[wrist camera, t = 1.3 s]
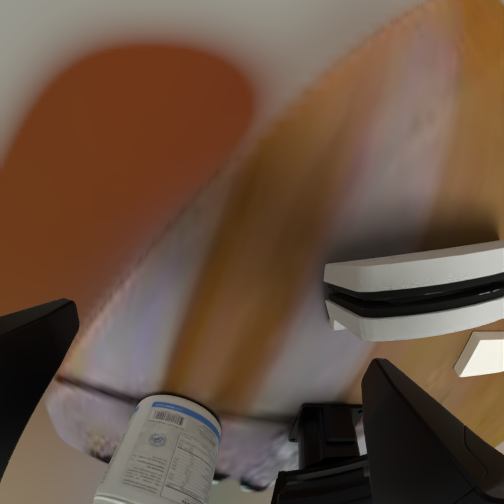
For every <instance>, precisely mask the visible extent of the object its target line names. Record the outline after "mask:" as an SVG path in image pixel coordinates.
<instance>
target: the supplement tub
mask: <svg viewBox="0 0 504 504" xmlns="http://www.w3.org/2000/svg"><path fill="white" fill-rule="evenodd" d="M220 437H221V428H220V425H219V423H218V421H217V420H216V419H215V417H214V416H213V415H212V414H211V413H210V412H208V411H207V410H206V409H204V408H203V407H201V406H200V405H198V404H196V403H194V402H192V401H189V400H186V399H183V398H180V397H176V396H171V395H154V396H150V397H147V398H145V399H143V400H142V401H141V402H140V403H139V404H138V405H137V407H136V409H135V411H134V413H133V415H132V417H131V419H130V421H129V423H128V425H127V427H126V429H125V432H124V434H123V436H122V438H121V440H120V442H119V444H118V446H117V448H116V450H115V453H114V455H113V457H112V459H111V461H110V463H109V465H108V468H107V470H106V472H105V474H104V476H103V479H102V481H101V483H100V485H99V487H98V490H97V492H96V496H95V497H94V503H93V504H208V502H209V495H210V491H211V486H212V481H213V475H214V470H215V464H216V459H217V454H218V449H219V444H220Z"/></svg>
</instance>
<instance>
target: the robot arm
mask: <svg viewBox="0 0 504 504" xmlns="http://www.w3.org/2000/svg"><path fill="white" fill-rule="evenodd" d="M78 329H79V318H78V313H77V307H76V304H75V302H74V301H72V300H69V299H66V298H62V299H58V300H55V301H51V302H48V303H44V304H41V305H38V306H35V307H31V308H28V309H25V310H21V311H17V312H14V313H11V314H7V315H4V316H1V317H0V482H1V479H2V477H3V474H4V471H5V469H6V467H7V465H8V463H9V460H10V458H11V456H12V454H13V451H14V449H15V447H16V445H17V443H18V441H19V438H20V437H21V435H22V433H23V431H24V429H25V427H26V425H27V423H28V421H29V419H30V417H31V415H32V414H33V412H34V410H35V408H36V406H37V404H38V403H39V401H40V399H41V397H42V396H43V394H44V392H45V390H46V389H47V387H48V385H49V384H50V382H51V380H52V379H53V377H54V375H55V374H56V372H57V370H58V369H59V367H60V365H61V363H62V361H63V359H64V357H65V355H66V353H67V351H68V349H69V347H70V345H71V343H72V341H73V339H74V337H75V336H76V334H77V332H78ZM361 389H362V405H363V406H362V405H319V404H304V405H302V406H301V408H300V411H299V413H298V416H297V418H296V420H295V423H294V425H293V428H292V430H291V432H290V434H289V441H290V442H298V454H299V470H292V471H279V473H278V478H277V479H276V483H275V487H274V492H273V497H272V501H271V504H504V455H503V454H502V453H500V452H499V451H498V450H496V449H495V448H493V447H492V446H491V445H489V444H488V443H486V442H485V441H484V440H483V439H481V438H480V437H479V436H478V435H476V434H475V433H474V432H473V431H471V430H470V429H469V428H468V427H467V426H466V425H464V424H463V423H462V422H461V421H460V420H459V419H457V418H456V417H455V416H454V415H453V414H451V413H450V412H449V411H448V410H447V409H446V408H444V407H443V406H442V405H441V404H440V403H438V402H437V401H436V400H435V399H434V398H432V397H431V396H430V395H429V394H428V393H427V392H425V391H424V390H423V389H422V388H421V387H419V386H418V385H417V384H416V383H415V382H413V381H412V380H411V379H410V378H409V377H408V376H406V375H405V374H404V373H403V372H402V371H400V370H399V369H398V368H397V367H396V366H394V365H393V364H392V363H391V362H390V361H388V360H387V359H383V358H375V359H373V360H372V361H371V363H370V365H369V367H368V369H367V371H366V373H365V374H364V376H363V379H362V383H361ZM362 415H363V425H364V435H365V441H366V448H367V454H365V455H361V456H360V452H359V447H358V442H357V435H356V430H355V426H356V425H357V423H358V421H359V420H360V418H361V417H362Z"/></svg>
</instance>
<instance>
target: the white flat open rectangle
mask: <svg viewBox="0 0 504 504" xmlns="http://www.w3.org/2000/svg"><path fill="white" fill-rule="evenodd" d="M454 370H455V371H456V373H457V374H458V376H459V377H466V376H475V375H482V374H490V373H496V372H502V371H504V332H473V333H472V335H471V337H470V339H469V341H468V343H467V344H466V346H465V348H464V350H463V352H462V354H461V356H460V357H459V359H458V361H457V363H456V364H455V366H454Z"/></svg>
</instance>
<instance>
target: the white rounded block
mask: <svg viewBox="0 0 504 504" xmlns="http://www.w3.org/2000/svg"><path fill="white" fill-rule="evenodd" d="M323 281H324V282H327V283H328V284H329V288H332V289H335V290H337V291H340V292H341V293H333V294H329V296H330V299H329V300H325V302H326V306H327V309H328V313H329V317H330V319H329V324H330V326H331V328H332V330H333V331H335V330H342V329H348V330H349V331H351V332H352V333H354V334H355V335H356V336H358V337H359V338H361V339H363V340H366V341H375V342H380V341H394V340H406V339H415V338H423V337H430V336H437V335H442V334H447V333H452V332H457V331H462V330H466V329H470V328H474V327H478V326H482V325H485V324H488V323H491V322H494V321H497V320H500V319H502V318H504V240H498V241H492V242H485V243H479V244H472V245H465V246H459V247H452V248H445V249H438V250H431V251H424V252H416V253H409V254H401V255H394V256H386V257H378V258H371V259H363V260H355V261H346V262H338V263H330V264H326V265H325V271H324V280H323Z"/></svg>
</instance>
